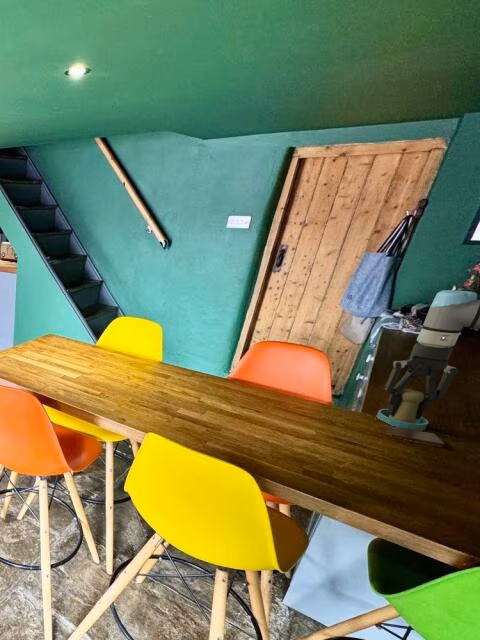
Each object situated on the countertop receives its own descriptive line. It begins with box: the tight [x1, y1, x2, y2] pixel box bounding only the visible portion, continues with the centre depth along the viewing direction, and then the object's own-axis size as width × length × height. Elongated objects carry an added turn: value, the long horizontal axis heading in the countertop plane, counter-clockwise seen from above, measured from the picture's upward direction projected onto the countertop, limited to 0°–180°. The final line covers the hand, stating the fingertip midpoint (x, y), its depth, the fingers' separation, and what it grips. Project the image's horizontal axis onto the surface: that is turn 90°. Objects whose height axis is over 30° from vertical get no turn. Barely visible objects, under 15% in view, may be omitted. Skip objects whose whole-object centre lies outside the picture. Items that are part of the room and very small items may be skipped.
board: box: [383, 425, 445, 447], centre depth 119 cm, size 11×7×2 cm, turn 60°
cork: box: [389, 388, 425, 423], centre depth 125 cm, size 6×6×11 cm
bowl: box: [375, 408, 429, 431], centre depth 127 cm, size 11×11×3 cm
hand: (403, 415), depth 126 cm, fingers closed on cork, 5 cm apart
